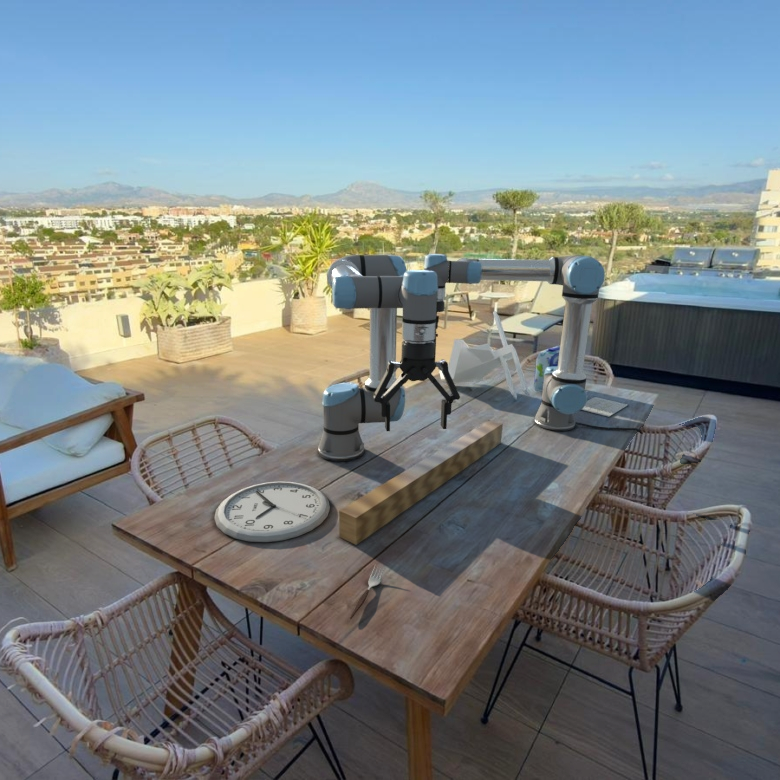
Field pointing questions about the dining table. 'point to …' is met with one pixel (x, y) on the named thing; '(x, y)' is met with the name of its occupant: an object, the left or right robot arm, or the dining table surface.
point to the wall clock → (272, 511)
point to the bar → (415, 483)
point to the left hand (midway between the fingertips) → (415, 428)
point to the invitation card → (603, 406)
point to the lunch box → (545, 365)
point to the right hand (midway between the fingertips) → (431, 358)
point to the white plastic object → (483, 361)
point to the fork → (372, 582)
